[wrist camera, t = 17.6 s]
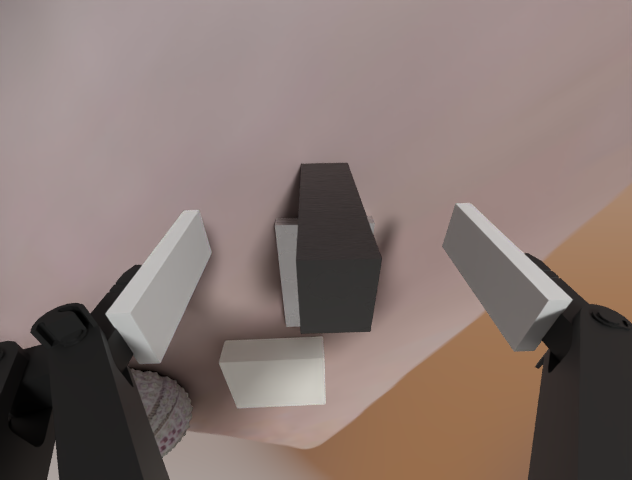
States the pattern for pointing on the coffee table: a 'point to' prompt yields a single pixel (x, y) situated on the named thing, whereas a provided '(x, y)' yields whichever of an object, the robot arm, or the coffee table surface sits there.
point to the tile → (275, 371)
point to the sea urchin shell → (164, 408)
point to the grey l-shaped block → (328, 255)
